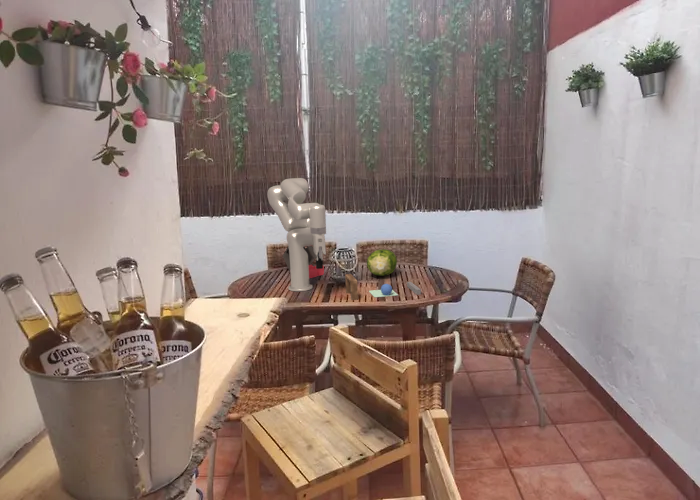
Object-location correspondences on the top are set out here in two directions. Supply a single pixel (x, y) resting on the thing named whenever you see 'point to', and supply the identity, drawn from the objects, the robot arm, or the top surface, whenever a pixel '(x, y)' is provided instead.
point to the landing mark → (379, 294)
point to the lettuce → (382, 262)
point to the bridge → (351, 286)
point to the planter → (309, 251)
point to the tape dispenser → (315, 271)
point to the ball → (386, 289)
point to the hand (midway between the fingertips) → (319, 268)
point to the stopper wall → (414, 288)
